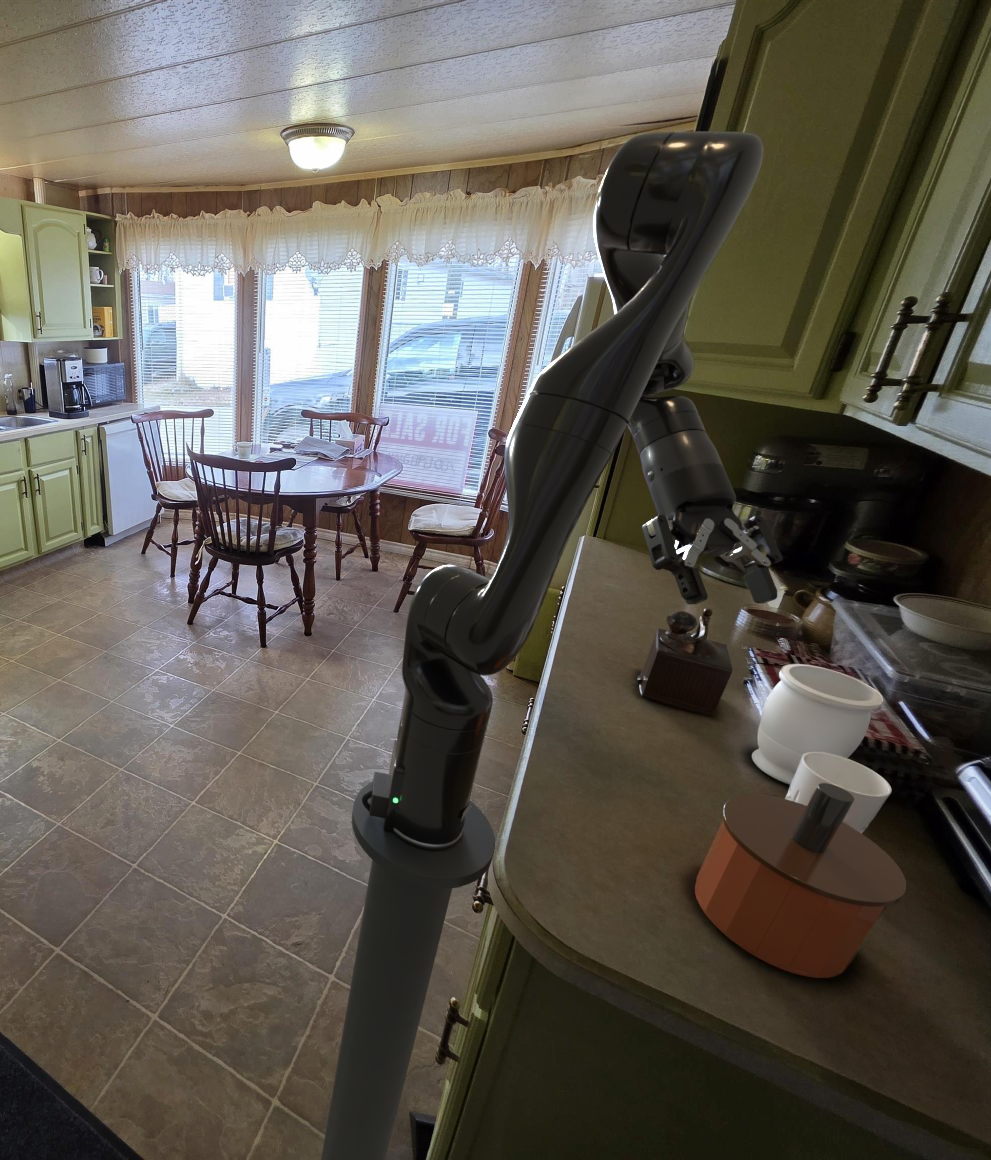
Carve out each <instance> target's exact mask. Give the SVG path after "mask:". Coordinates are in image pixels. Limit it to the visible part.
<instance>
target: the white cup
mask: <svg viewBox="0 0 991 1160" xmlns="http://www.w3.org/2000/svg"><path fill="white" fill-rule="evenodd" d="M820 783H828V784H832V785H835V786H838V787H840V788H842V789H844V790H846V791H848V792H849V793H850V794H851V795H852V796H853V797H854V802H853V803H852V805H851V807H850V809H849V810H848V812H847V814H846V816H845V818H844V819H843V821H842V822H843V823H845V824H847V825H848V826H850V827H852V828H853V829H855V830H857V831H858V832H860V833H861V834H863V833H864V832H865V831H866V829H867V828H868V827H869V826H870V823H871V822H872V821H873V820H874V819H875V817H876V816H877V814H878V813H879V811H880V810H881V808H882V807H883V805H884V804H885V803H886V801H887V800H888V798H889V797H890V795H891V794H892V790H893V789H892V787H891V785H890V783H889V782H888V781H887V780H886V779H885V778H884V777H883V776H882V775H880V774H878V773H877V772H876V771H874V770H873V769H871V768H870V767H868V766H865V765H863V764H862V763H859V762H857V761H855V760H852V759H850V758H844V757H841V756H838V755H834V754H829V753H824V752H808V753H805V754H804V755H803V756H802V758H801V761H800V763H799V766H798V768H797V770H796V773H795V775H794V778H793V780H792V782H791V785H789V788H788V790H787V793H786V796H785V797H784V799H787V800H790V801H794V802H797V803H800V804H803V805H806V806H807V805H808V803H809V801H810V799H811V798H812V796H813V794H814V792H815V790H816V788H817V786H818V785H819V784H820Z"/></svg>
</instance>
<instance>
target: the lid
mask: <svg viewBox="0 0 991 1160" xmlns="http://www.w3.org/2000/svg"><path fill="white" fill-rule="evenodd" d="M853 802H854V797H853V796H852V795H851V794H850V793H849V792H848V791H846V790H844V789H842V788H840V787H838V786H835V785H832V784H828V783H820V784H819V785H818V786H817V788H816V790H815V792H814V794H813V796H812V798H811V799H810V801H809V803H808V805H807V806H806V805H803V804H800V803H797V802H794V801H790V800H787V799H785V798H784V797H779V796H773V795H769V794H768V795H767V794H759V793H745V794H739V795H735V796H733V797H731V798H729V799H728V800H727V801H726V802H725V804H724V805H723V807H722V810H721V820H722V821H723V823H724V825H725V827H726V829H727V831H728V832H729V834H730V835H731V836H732V838H733V839H734V840H735V841H736V842H737V843H738V844H739V845H740V846H741V847H742V848H743V849H744V850H745V851H746V852H747V853H748V854H750V855H751V856H752V857H753V858H754V859H756V860H757V861H759V862H760V863H761V864H763V865H764V866H765V867H767V868H769V869H770V870H772V871H773V872H775V873H776V874H778V875H780V876H782V877H783V878H785V879H787V880H789V881H791V882H793V883H795V884H797V885H799V886H801V887H803V888H805V889H808V890H810V891H812V892H815V893H817V894H820V895H823V896H825V897H828V898H831V899H835V900H838V901H841V902H845V903H849V904H855V905H860V906H871V907H879V906H887V905H888V906H891V905H893V904H896V903H898V902H899V901H900V900H901V899H902V898H903V897H904V894H905V893H906V892H907V882H906V878H905V875H904V873H903V871H902V870H901V868H900V866H899V865H898V864H897V862H895V860H894V859H893V858H892V857H891V855H889V854H888V853H887V852H886V851H885V850H884V849H883V848H881V847H880V846H879V845H878V844H877V843H876V842H874V841H873V840H871V839H870V838H869V837H868V836H866V835H864V834H863V833H862V834H861V833H860V832H858V831H857V830H855V829H853V828H852V827H850V826H848V825H847V824H845V823H843V822H842V821H843V819H844V818H845V816H846V814H847V812H848V810H849V809H850V807H851V805H852V803H853ZM888 906H887V907H888Z"/></svg>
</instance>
